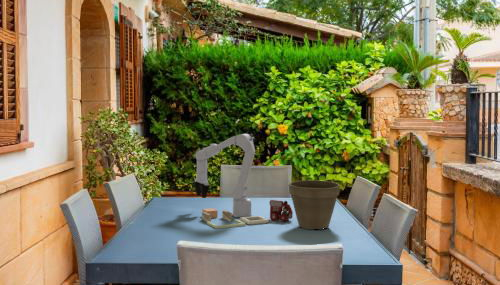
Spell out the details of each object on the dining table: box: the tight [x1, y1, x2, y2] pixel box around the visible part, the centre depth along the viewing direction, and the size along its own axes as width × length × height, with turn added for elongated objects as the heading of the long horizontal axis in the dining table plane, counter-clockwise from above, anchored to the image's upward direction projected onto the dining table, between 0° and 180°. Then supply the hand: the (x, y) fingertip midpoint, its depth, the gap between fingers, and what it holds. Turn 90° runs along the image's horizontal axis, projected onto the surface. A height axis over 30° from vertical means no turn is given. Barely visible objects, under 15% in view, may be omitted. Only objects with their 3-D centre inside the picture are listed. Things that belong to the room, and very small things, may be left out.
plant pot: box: [288, 179, 341, 230], centre depth 274 cm, size 25×25×22 cm
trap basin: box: [239, 215, 269, 226], centre depth 284 cm, size 11×10×2 cm
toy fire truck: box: [269, 199, 294, 223], centre depth 289 cm, size 7×12×10 cm, turn 68°
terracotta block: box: [202, 207, 218, 219], centre depth 294 cm, size 6×6×4 cm
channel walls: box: [201, 209, 233, 223], centre depth 286 cm, size 13×8×4 cm, turn 117°
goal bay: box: [206, 218, 247, 230], centre depth 276 cm, size 16×11×1 cm
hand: (201, 196), depth 304 cm, fingers open, 7 cm apart
